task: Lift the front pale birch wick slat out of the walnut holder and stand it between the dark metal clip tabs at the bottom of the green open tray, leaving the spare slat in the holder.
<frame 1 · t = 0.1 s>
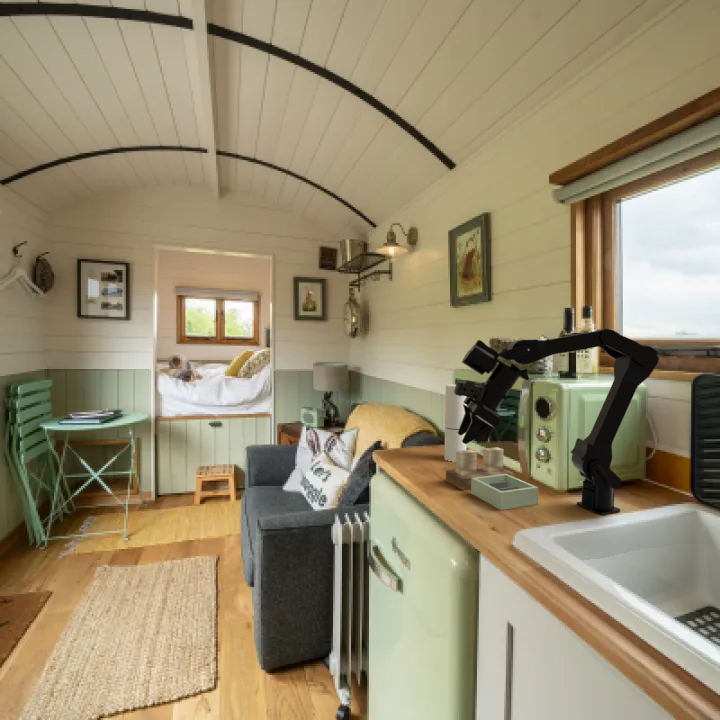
hand: (461, 438, 95), 15 cm above the worktop, tool tilted 30°, fingers open, 9 cm apart
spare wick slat: (492, 480, 110), resting in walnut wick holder
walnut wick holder: (479, 482, 108), on the worktop
cylindrical container: (455, 459, 131), on the worktop
birch wick slat: (465, 484, 107), resting in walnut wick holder
green open tray: (503, 498, 96), on the worktop
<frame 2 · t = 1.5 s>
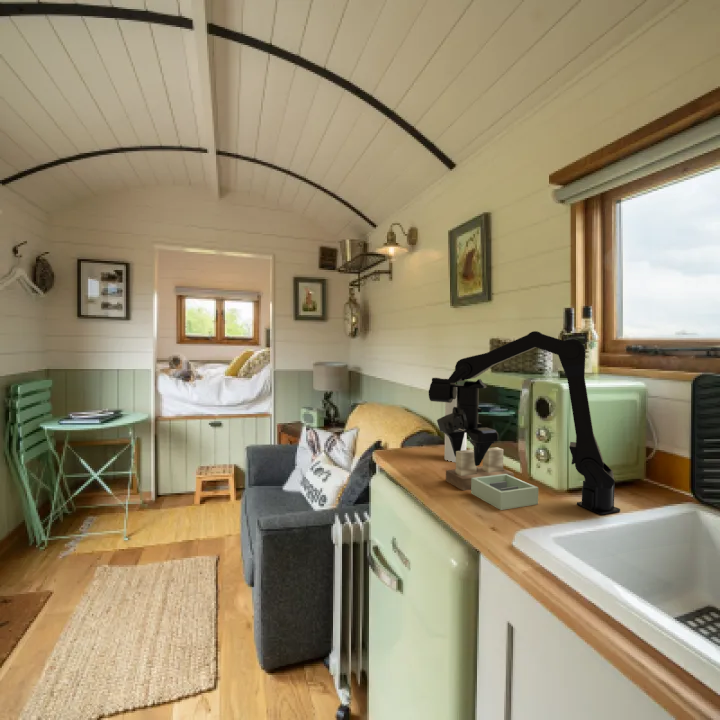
hand: (466, 460, 106), 6 cm above the worktop, tool pointing down, fingers open, 9 cm apart
nothing on the worktop moved.
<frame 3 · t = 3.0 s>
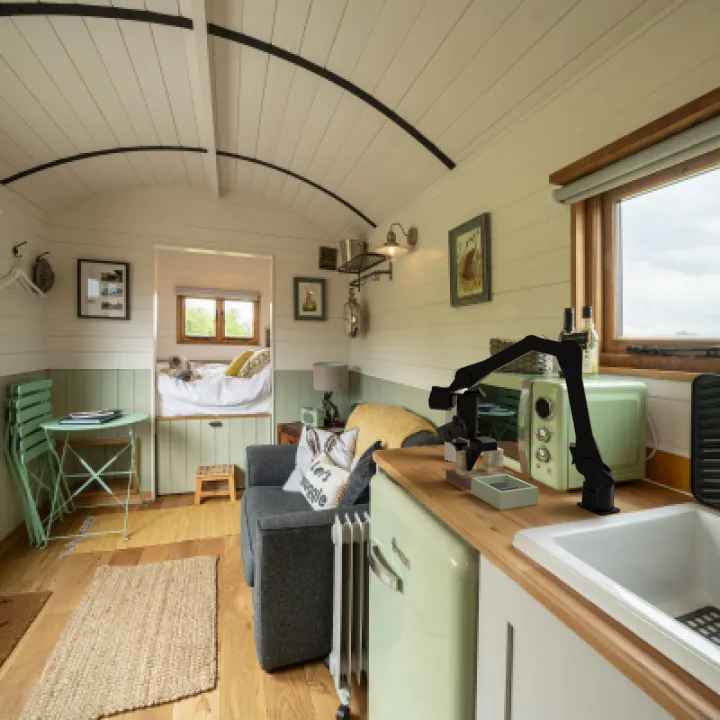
hand: (466, 469, 106), 4 cm above the worktop, tool pointing down, fingers closed on birch wick slat, 2 cm apart
birch wick slat: (465, 484, 107), resting in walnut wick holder, touching gripper
everything else where it was.
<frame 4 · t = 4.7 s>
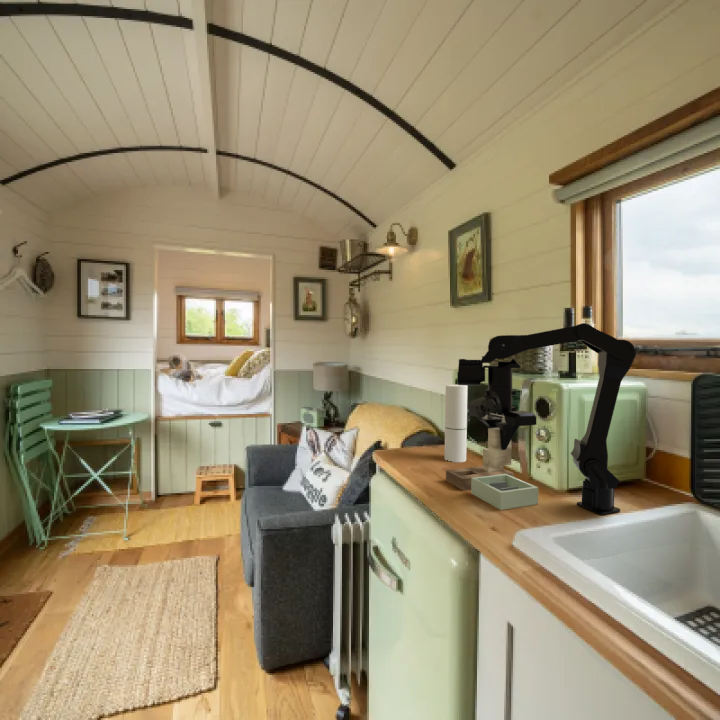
hand: (499, 448, 97), 12 cm above the worktop, tool pointing down, fingers closed on birch wick slat, 2 cm apart
birch wick slat: (499, 464, 97), point 8 cm above the worktop, touching gripper
everything else where it was.
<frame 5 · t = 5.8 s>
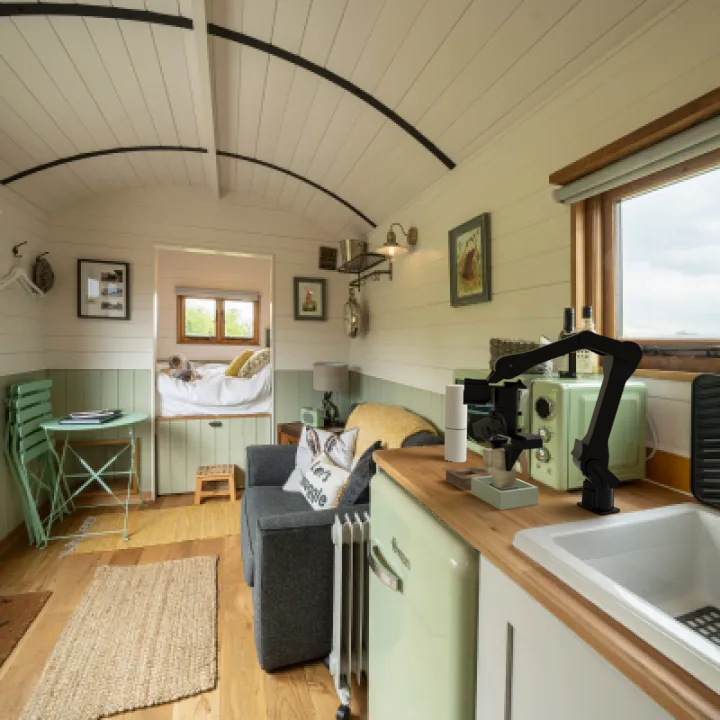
hand: (504, 469, 96), 7 cm above the worktop, tool pointing down, fingers closed on birch wick slat, 2 cm apart
birch wick slat: (504, 485, 96), point 3 cm above the worktop, touching gripper
everything else where it was.
when the fingers open (6 cm above the worktop, at t = 6.7 s): birch wick slat drops 1 cm, resting on green open tray.
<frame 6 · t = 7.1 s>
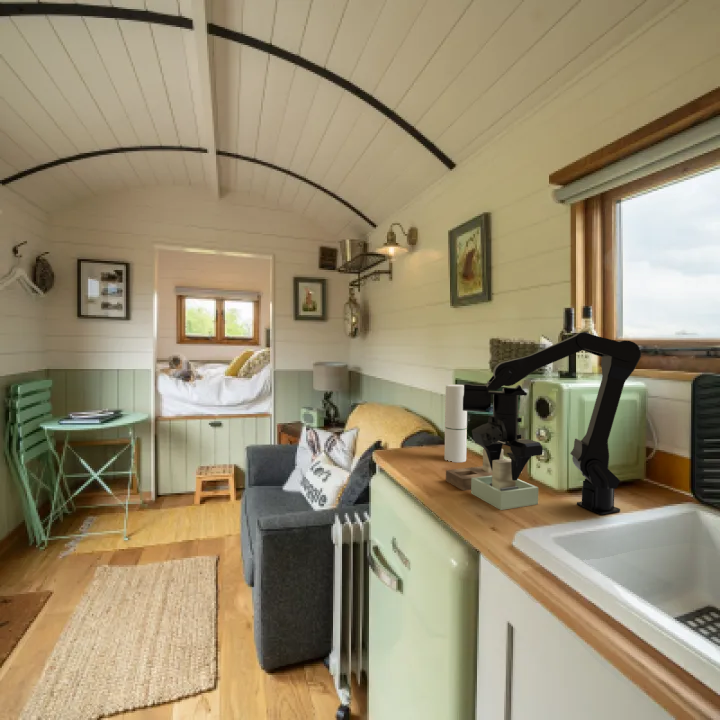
hand: (504, 475, 96), 6 cm above the worktop, tool pointing down, fingers open, 7 cm apart
birch wick slat: (503, 497, 96), resting on green open tray
everything else where it was.
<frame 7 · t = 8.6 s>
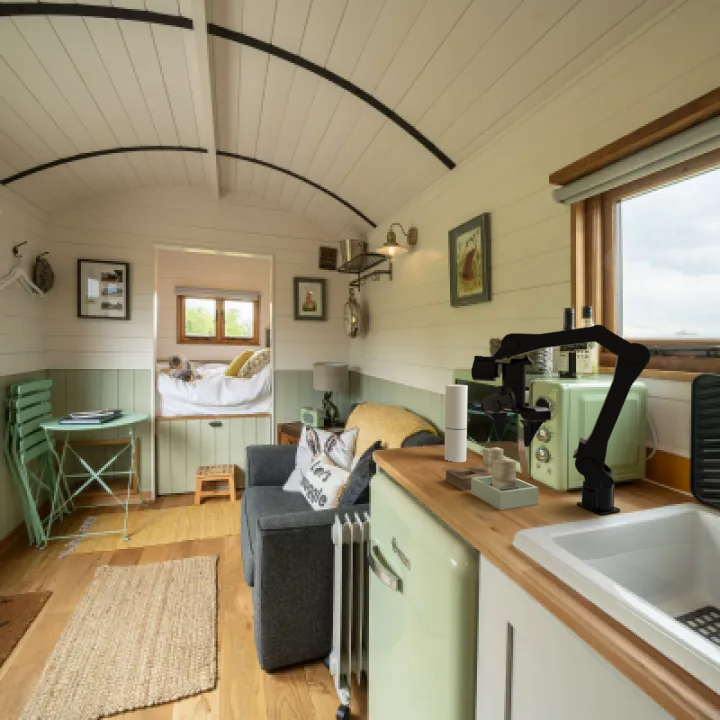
hand: (512, 442, 100), 13 cm above the worktop, tool pointing down, fingers open, 9 cm apart
nothing on the worktop moved.
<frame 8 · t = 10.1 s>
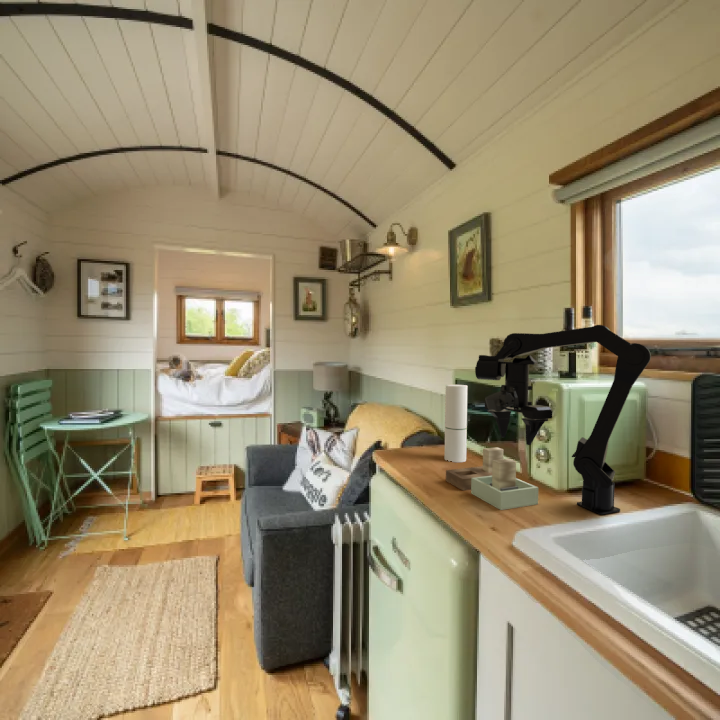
hand: (515, 440, 102), 13 cm above the worktop, tool pointing down, fingers open, 9 cm apart
nothing on the worktop moved.
at the end: birch wick slat 0.0 cm off-centre on the green open tray, point 0.4 cm above the green open tray's base; birch wick slat tilted 0°; the gripper is holding nothing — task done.
